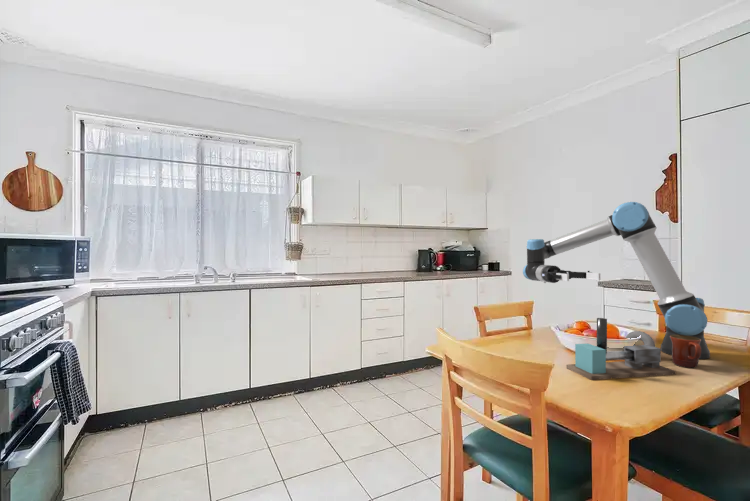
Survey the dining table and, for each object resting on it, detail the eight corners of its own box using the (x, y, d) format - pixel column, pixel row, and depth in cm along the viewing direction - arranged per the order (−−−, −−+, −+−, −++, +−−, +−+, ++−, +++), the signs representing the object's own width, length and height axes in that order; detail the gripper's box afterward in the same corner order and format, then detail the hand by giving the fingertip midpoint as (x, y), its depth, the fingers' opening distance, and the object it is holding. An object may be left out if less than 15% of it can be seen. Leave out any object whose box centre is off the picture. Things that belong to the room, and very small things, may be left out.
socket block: (588, 365, 130) (588, 343, 129) (605, 373, 122) (605, 349, 122) (575, 366, 129) (575, 344, 129) (592, 373, 121) (592, 350, 121)
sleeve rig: (644, 363, 136) (644, 342, 135) (675, 374, 124) (675, 351, 124) (566, 368, 130) (566, 345, 130) (591, 380, 119) (591, 355, 118)
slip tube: (632, 357, 130) (632, 316, 129) (639, 360, 127) (639, 318, 126) (585, 360, 127) (585, 318, 126) (592, 362, 124) (592, 320, 123)
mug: (664, 361, 138) (664, 334, 138) (691, 362, 137) (691, 335, 136) (684, 371, 127) (684, 342, 126) (713, 373, 125) (713, 343, 125)
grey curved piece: (656, 358, 142) (656, 332, 142) (653, 360, 139) (653, 334, 139) (625, 352, 149) (626, 328, 149) (623, 354, 147) (623, 329, 147)
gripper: (574, 281, 164) (612, 286, 143) (523, 282, 160) (554, 287, 139) (574, 264, 164) (612, 266, 143) (523, 265, 160) (554, 268, 139)
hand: (584, 277), depth 141 cm, fingers open, 13 cm apart
